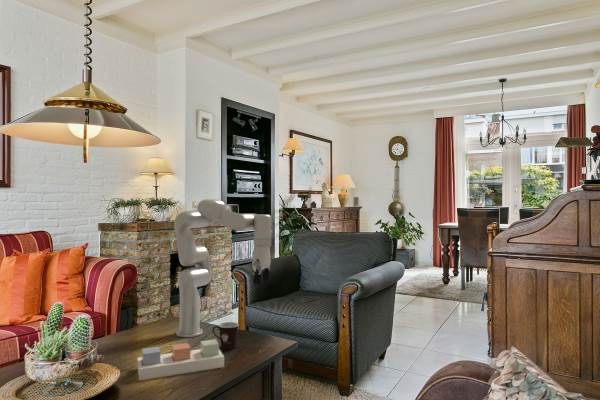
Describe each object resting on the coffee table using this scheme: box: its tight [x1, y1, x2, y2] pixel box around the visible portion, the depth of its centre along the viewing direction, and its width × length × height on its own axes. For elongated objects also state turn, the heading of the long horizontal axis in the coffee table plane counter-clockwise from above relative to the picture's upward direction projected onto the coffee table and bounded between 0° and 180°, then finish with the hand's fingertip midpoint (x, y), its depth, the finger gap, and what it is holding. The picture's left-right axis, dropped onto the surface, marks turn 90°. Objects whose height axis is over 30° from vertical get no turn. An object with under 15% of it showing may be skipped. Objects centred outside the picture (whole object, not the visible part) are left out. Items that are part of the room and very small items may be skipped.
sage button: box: [200, 339, 220, 357], centre depth 163 cm, size 6×6×5 cm
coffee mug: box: [212, 321, 239, 351], centre depth 182 cm, size 12×9×10 cm
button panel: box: [136, 348, 225, 381], centre depth 158 cm, size 12×31×4 cm, turn 115°
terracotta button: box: [171, 342, 192, 361], centre depth 158 cm, size 6×6×5 cm
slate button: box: [141, 346, 161, 366], centre depth 154 cm, size 6×6×5 cm
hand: (262, 281), depth 178 cm, fingers open, 9 cm apart
